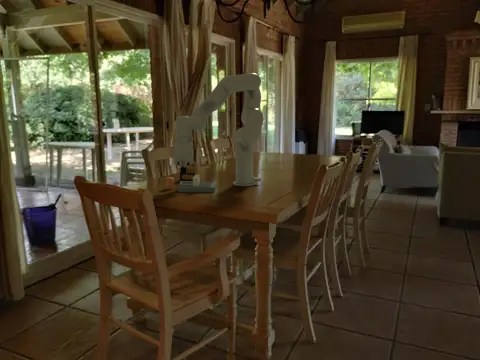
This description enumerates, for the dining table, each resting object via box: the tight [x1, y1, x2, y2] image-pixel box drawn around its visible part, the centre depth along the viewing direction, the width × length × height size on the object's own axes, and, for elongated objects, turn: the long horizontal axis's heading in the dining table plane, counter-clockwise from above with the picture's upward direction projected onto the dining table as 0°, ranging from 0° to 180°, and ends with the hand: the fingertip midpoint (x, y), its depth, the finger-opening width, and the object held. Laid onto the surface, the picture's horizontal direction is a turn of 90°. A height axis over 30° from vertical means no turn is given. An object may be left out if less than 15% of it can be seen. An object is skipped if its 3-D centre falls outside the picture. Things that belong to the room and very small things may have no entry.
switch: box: [193, 177, 199, 186], centre depth 208 cm, size 2×3×5 cm
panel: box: [177, 181, 218, 193], centre depth 212 cm, size 19×12×4 cm, turn 89°
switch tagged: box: [194, 174, 201, 183], centre depth 214 cm, size 2×3×5 cm
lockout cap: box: [165, 176, 175, 191], centre depth 214 cm, size 4×4×6 cm
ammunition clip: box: [179, 160, 198, 182], centre depth 235 cm, size 11×2×12 cm, turn 70°
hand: (183, 174), depth 214 cm, fingers closed
